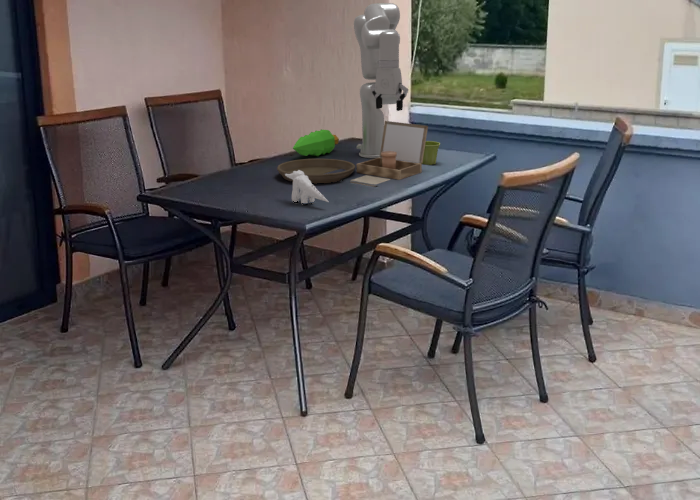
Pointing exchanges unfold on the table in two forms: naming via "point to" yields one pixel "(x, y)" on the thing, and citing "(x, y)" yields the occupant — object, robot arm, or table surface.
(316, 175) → the plant saucer
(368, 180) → the sandstone tile
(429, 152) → the plant pot
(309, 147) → the decorative tree
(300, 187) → the dinosaur statue
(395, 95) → the robot arm
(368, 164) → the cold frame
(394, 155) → the tan rounded knob
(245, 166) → the table surface
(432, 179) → the table surface
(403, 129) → the lid
